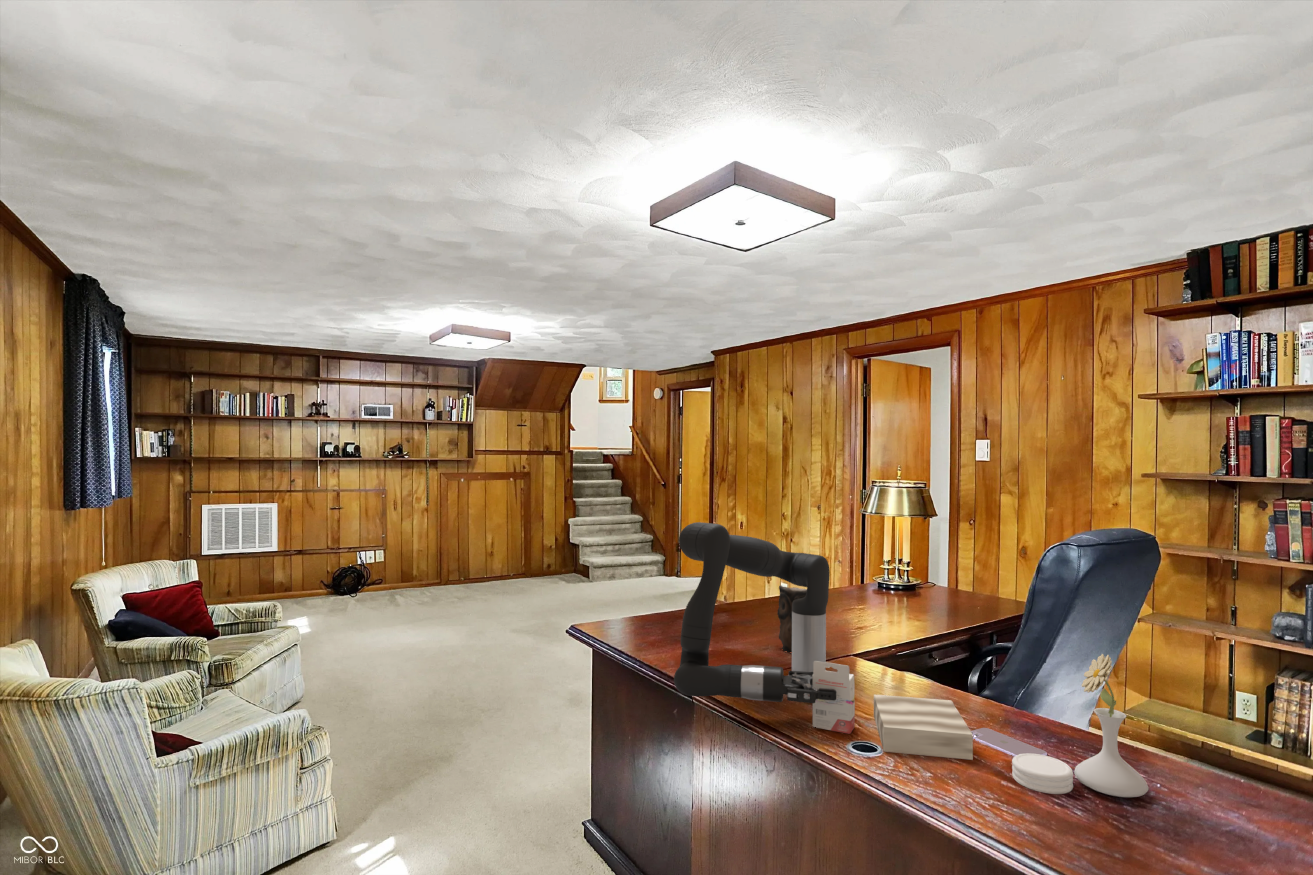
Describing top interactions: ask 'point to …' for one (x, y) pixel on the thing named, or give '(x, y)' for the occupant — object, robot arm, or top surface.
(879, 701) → the plinth
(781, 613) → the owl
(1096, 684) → the flower in vase
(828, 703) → the ink cartridge box
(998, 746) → the mobile phone
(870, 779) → the top surface
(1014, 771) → the coaster
